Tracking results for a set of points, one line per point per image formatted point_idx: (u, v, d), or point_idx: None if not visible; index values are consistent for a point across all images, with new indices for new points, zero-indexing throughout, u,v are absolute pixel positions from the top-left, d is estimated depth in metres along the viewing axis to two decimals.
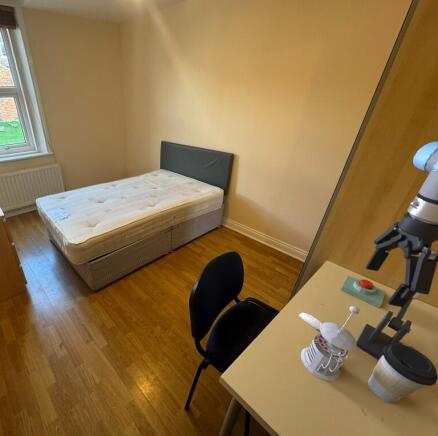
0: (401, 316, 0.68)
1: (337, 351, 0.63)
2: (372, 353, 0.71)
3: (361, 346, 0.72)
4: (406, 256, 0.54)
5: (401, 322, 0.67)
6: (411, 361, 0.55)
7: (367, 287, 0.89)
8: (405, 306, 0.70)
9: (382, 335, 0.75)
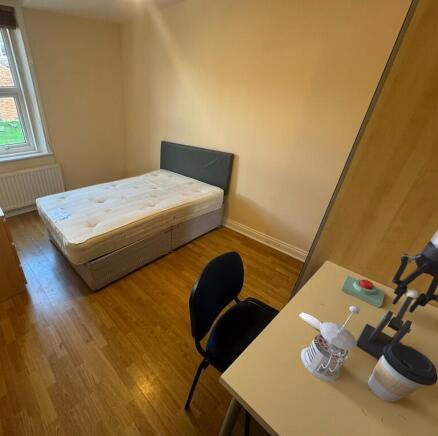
0: (401, 316, 0.68)
1: (337, 351, 0.63)
2: (372, 353, 0.71)
3: (361, 346, 0.72)
4: (437, 280, 0.65)
5: (401, 322, 0.67)
6: (411, 361, 0.55)
7: (367, 287, 0.89)
8: (405, 306, 0.70)
9: (382, 335, 0.75)
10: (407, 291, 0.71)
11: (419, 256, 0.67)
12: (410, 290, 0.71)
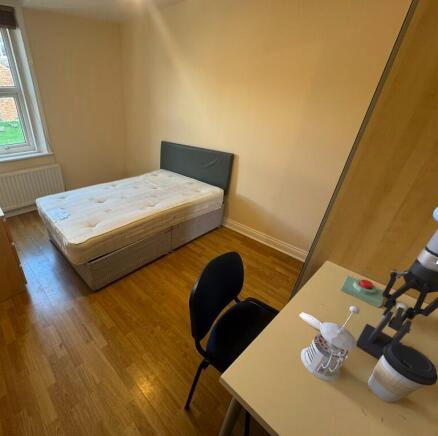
0: (399, 318, 0.69)
1: (337, 351, 0.63)
2: (372, 353, 0.71)
3: (361, 346, 0.72)
4: (423, 296, 0.69)
5: (401, 321, 0.68)
6: (411, 361, 0.55)
7: (367, 287, 0.89)
8: (399, 312, 0.72)
9: (382, 335, 0.75)
10: (397, 302, 0.75)
11: (407, 272, 0.71)
12: (400, 302, 0.75)
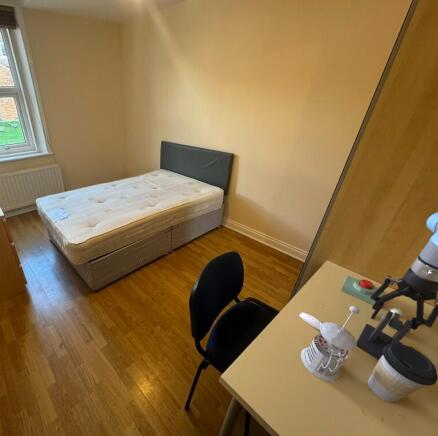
0: (397, 320, 0.70)
1: (337, 351, 0.63)
2: (372, 353, 0.71)
3: (361, 346, 0.72)
4: (420, 305, 0.70)
5: (401, 321, 0.68)
6: (411, 361, 0.55)
7: (367, 287, 0.89)
8: (397, 316, 0.72)
9: (382, 335, 0.75)
10: (393, 308, 0.76)
11: (400, 281, 0.72)
12: (395, 308, 0.76)
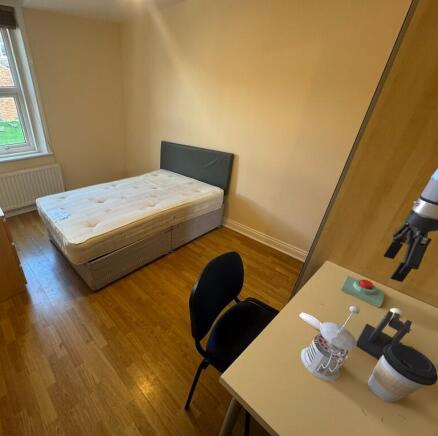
0: (397, 320, 0.70)
1: (337, 351, 0.63)
2: (372, 353, 0.71)
3: (361, 346, 0.72)
4: (407, 242, 0.72)
5: (401, 321, 0.68)
6: (411, 361, 0.55)
7: (367, 287, 0.89)
8: (397, 316, 0.72)
9: (382, 335, 0.75)
10: (393, 308, 0.76)
11: None
12: (395, 308, 0.76)
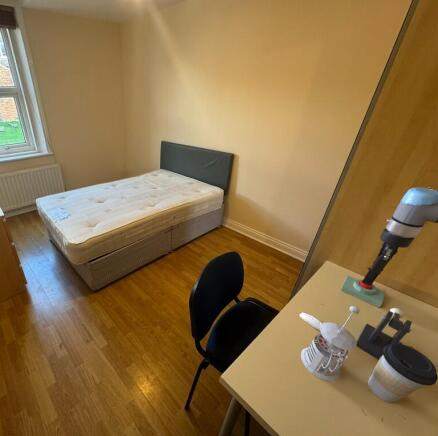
0: (397, 320, 0.70)
1: (337, 351, 0.63)
2: (372, 353, 0.71)
3: (361, 346, 0.72)
4: (378, 254, 0.83)
5: (401, 321, 0.68)
6: (411, 361, 0.55)
7: (367, 288, 0.89)
8: (397, 316, 0.72)
9: (382, 335, 0.75)
10: (393, 308, 0.76)
11: None
12: (395, 308, 0.76)
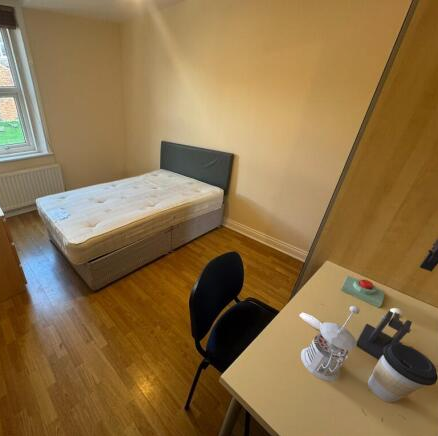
0: (397, 320, 0.70)
1: (337, 351, 0.63)
2: (372, 353, 0.71)
3: (361, 346, 0.72)
4: None
5: (401, 321, 0.68)
6: (411, 361, 0.55)
7: (367, 287, 0.89)
8: (397, 316, 0.72)
9: (382, 335, 0.75)
10: (393, 308, 0.76)
11: None
12: (395, 308, 0.76)
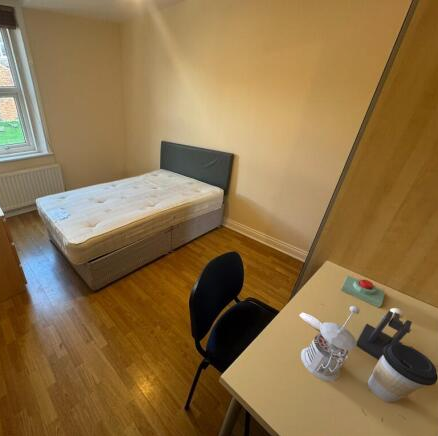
0: (397, 320, 0.70)
1: (337, 351, 0.63)
2: (372, 353, 0.71)
3: (361, 346, 0.72)
4: None
5: (401, 321, 0.68)
6: (411, 361, 0.55)
7: (367, 287, 0.89)
8: (397, 316, 0.72)
9: (382, 335, 0.75)
10: (393, 308, 0.76)
11: None
12: (395, 308, 0.76)
